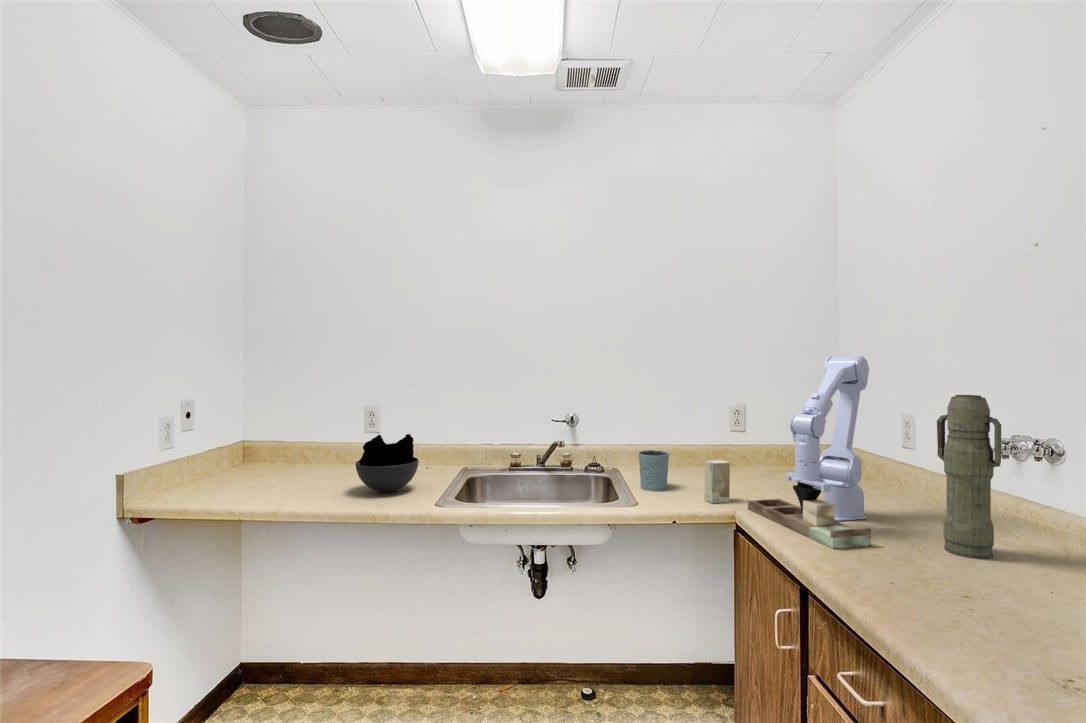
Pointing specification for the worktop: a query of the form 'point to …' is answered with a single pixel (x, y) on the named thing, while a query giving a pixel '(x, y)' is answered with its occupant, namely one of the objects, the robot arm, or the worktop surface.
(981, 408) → the thermos
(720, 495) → the skincare box
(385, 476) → the bowl of black rocks
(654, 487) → the teal embossed cup
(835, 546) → the track
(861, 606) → the worktop surface
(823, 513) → the maple block
